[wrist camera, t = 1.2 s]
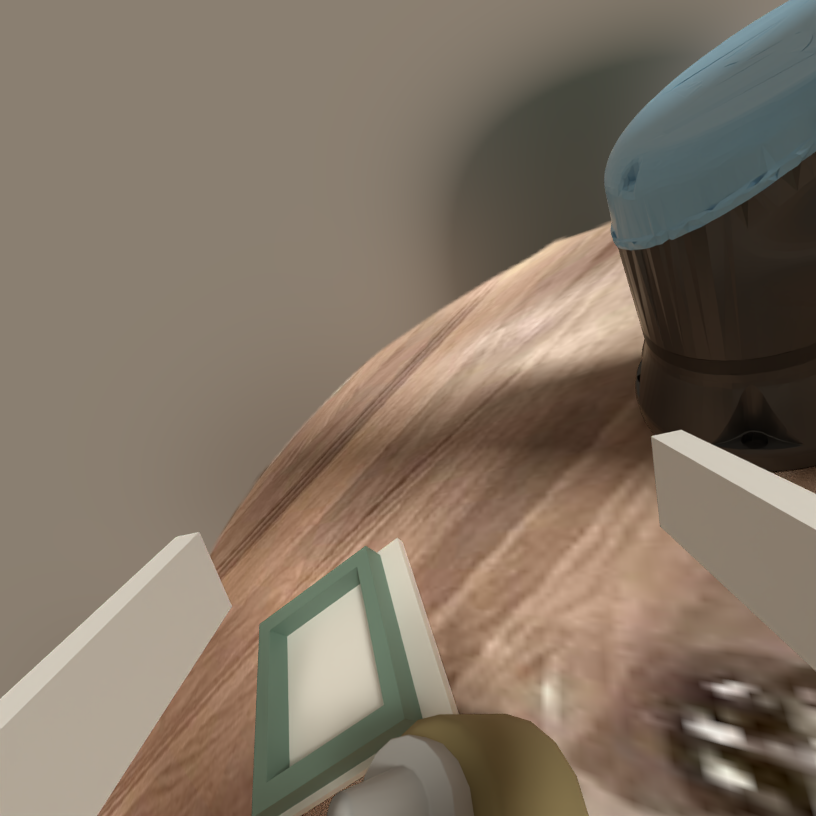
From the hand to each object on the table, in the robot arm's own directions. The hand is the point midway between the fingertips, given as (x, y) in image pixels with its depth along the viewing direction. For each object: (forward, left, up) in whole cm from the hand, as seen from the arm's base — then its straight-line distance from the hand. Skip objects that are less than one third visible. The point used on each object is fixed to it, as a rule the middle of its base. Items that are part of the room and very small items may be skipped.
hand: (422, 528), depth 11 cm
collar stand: (+21, -11, -23) cm, 33 cm away
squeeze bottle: (+8, +3, -24) cm, 25 cm away
